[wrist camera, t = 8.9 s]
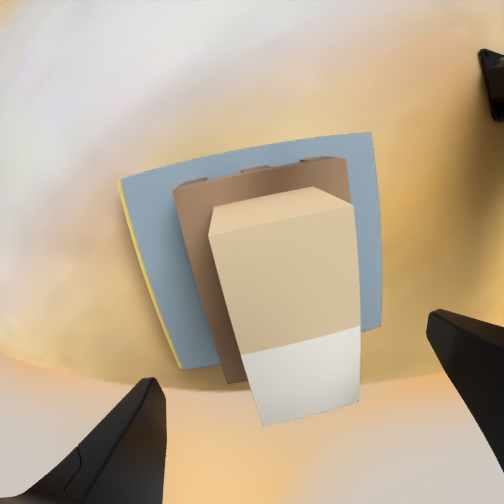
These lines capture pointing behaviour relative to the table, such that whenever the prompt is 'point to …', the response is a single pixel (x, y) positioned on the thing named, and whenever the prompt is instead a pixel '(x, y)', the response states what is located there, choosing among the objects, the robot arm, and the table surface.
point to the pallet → (229, 191)
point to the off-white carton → (305, 376)
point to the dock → (175, 252)
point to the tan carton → (287, 267)
